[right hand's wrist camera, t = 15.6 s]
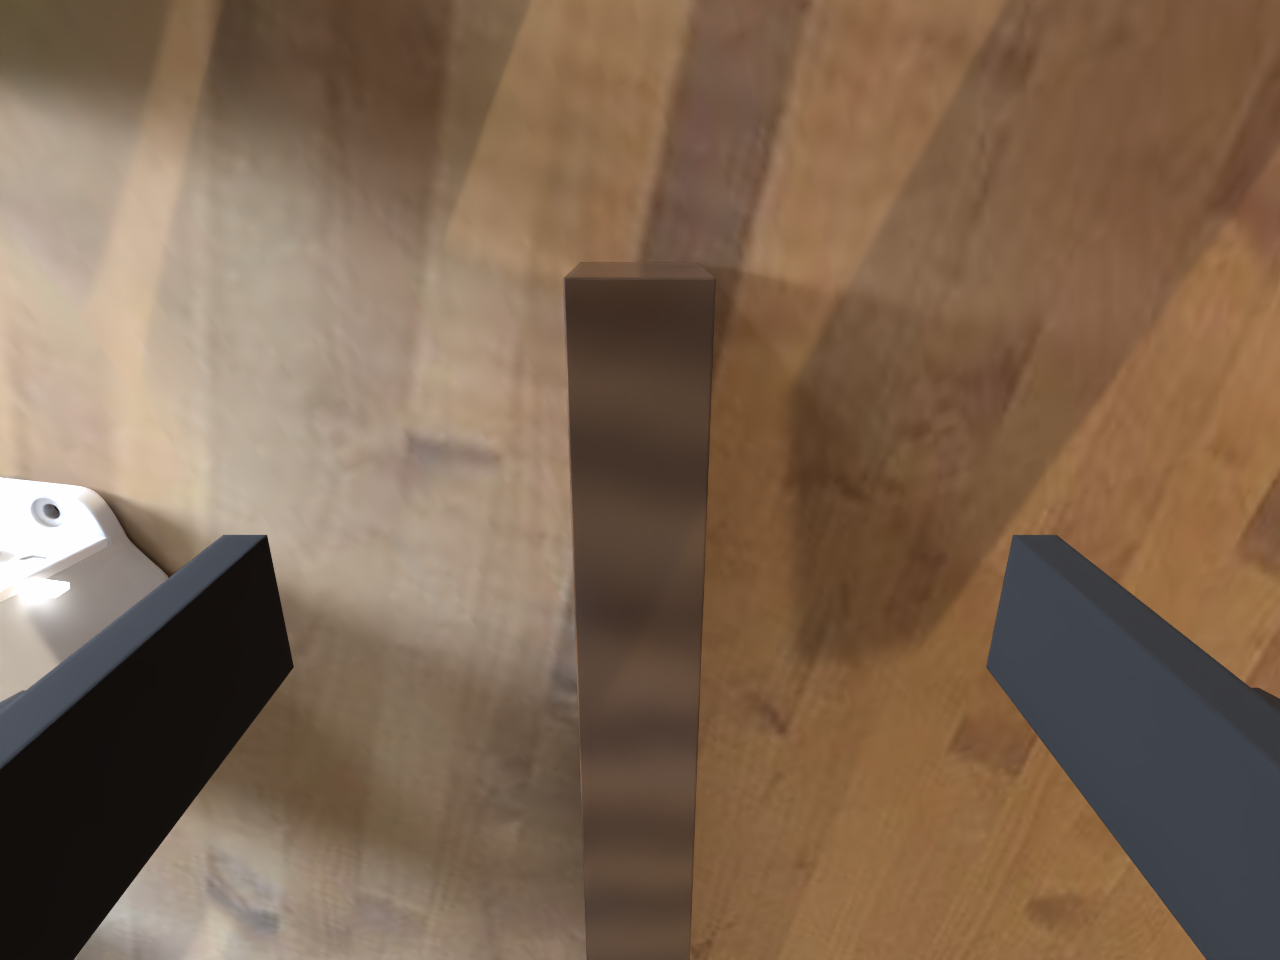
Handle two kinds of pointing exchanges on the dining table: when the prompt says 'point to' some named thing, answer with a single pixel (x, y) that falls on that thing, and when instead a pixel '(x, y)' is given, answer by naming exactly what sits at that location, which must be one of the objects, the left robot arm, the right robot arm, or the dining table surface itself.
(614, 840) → the beam
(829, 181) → the dining table surface
